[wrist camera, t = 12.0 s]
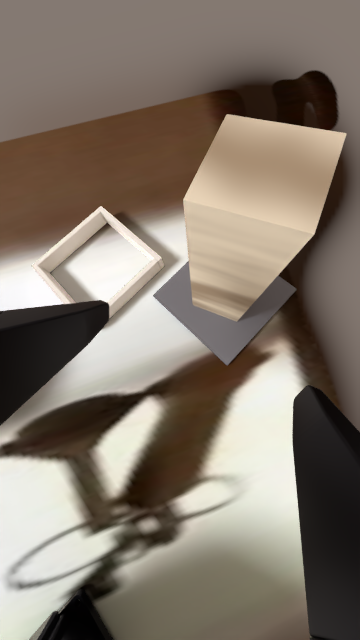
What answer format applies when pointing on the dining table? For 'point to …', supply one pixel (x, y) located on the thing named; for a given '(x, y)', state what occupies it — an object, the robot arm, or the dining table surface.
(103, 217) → the tray
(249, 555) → the dining table surface
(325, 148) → the birch block
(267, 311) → the mat
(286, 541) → the dining table surface
